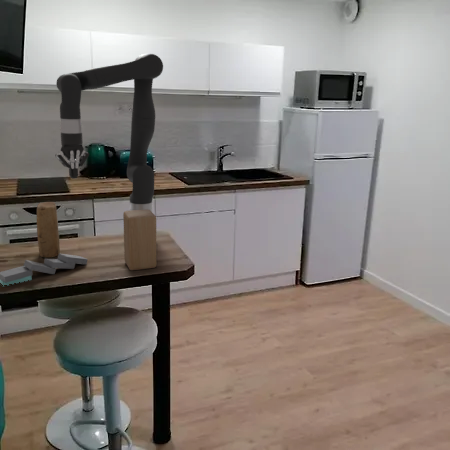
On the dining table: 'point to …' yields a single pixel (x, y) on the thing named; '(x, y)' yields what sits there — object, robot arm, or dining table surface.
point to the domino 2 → (16, 280)
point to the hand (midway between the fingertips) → (73, 178)
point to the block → (47, 230)
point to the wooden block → (139, 239)
